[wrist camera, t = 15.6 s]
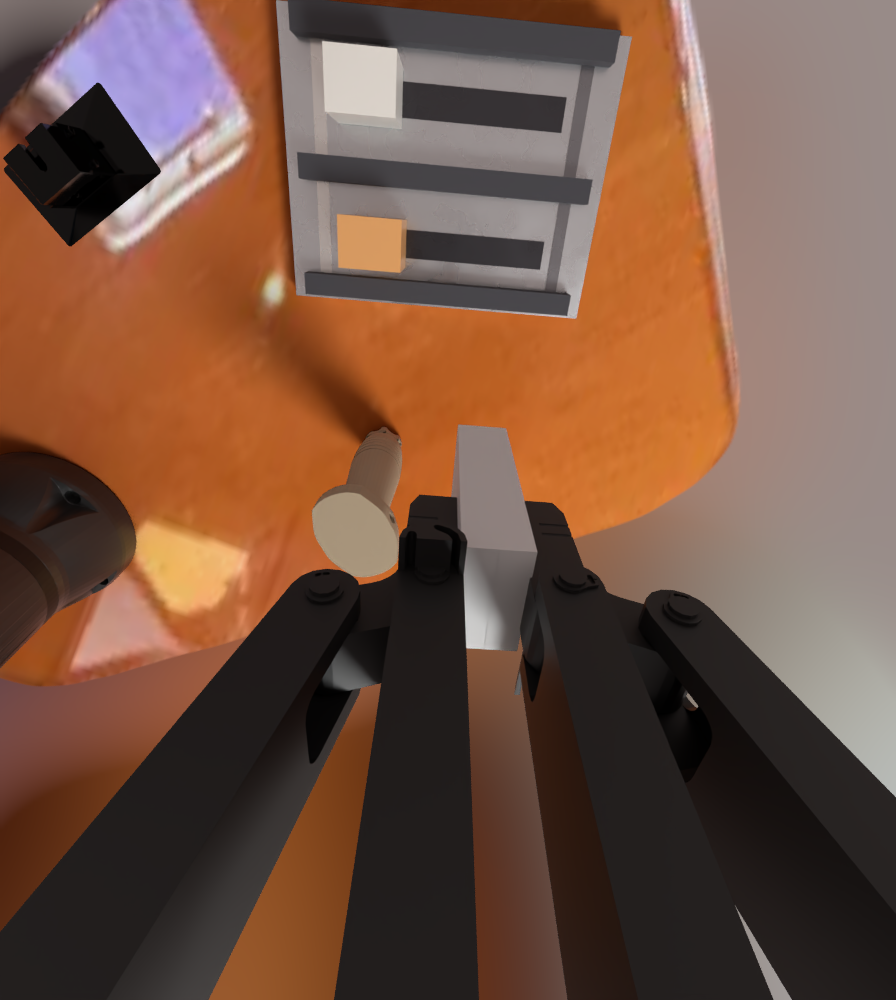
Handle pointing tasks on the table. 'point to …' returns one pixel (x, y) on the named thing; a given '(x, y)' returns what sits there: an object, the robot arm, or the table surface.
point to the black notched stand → (81, 165)
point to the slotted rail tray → (457, 35)
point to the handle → (363, 509)
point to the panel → (458, 165)
